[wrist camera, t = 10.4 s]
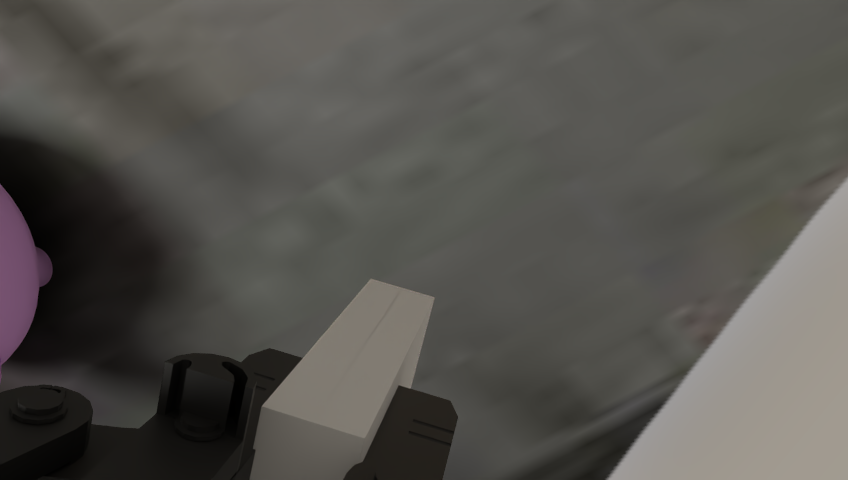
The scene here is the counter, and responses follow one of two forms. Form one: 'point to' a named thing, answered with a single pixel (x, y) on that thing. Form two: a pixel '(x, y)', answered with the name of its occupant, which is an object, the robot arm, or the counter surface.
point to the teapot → (18, 276)
